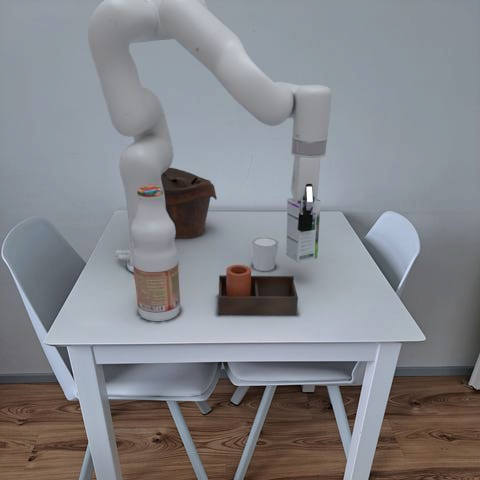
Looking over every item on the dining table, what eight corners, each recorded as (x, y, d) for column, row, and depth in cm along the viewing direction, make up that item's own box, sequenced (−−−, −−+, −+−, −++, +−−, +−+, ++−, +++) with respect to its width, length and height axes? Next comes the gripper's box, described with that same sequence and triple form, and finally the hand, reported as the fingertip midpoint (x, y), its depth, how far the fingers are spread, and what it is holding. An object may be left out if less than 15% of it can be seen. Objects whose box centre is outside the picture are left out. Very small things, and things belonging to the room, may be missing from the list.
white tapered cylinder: (274, 273, 129) (276, 248, 125) (248, 270, 130) (249, 245, 126) (278, 262, 134) (279, 238, 131) (253, 259, 136) (254, 235, 132)
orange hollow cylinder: (226, 311, 112) (226, 275, 107) (226, 299, 116) (226, 264, 112) (250, 311, 112) (251, 275, 107) (249, 299, 116) (250, 264, 112)
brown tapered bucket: (215, 243, 145) (215, 182, 136) (147, 241, 145) (142, 180, 136) (218, 221, 160) (218, 165, 151) (157, 220, 160) (152, 164, 151)
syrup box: (297, 263, 118) (300, 203, 111) (285, 254, 123) (287, 197, 116) (317, 258, 121) (321, 200, 113) (304, 250, 125) (307, 193, 118)
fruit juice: (148, 326, 105) (136, 198, 91) (131, 307, 112) (118, 185, 98) (187, 315, 110) (182, 190, 95) (169, 297, 116) (161, 178, 102)
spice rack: (218, 314, 110) (218, 293, 107) (219, 296, 118) (219, 275, 115) (296, 315, 111) (298, 293, 108) (292, 296, 118) (293, 275, 115)
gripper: (287, 138, 116) (283, 211, 125) (296, 156, 101) (290, 238, 110) (319, 139, 116) (312, 212, 125) (332, 157, 101) (323, 238, 110)
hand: (302, 223), depth 118 cm, fingers closed on syrup box, 7 cm apart
